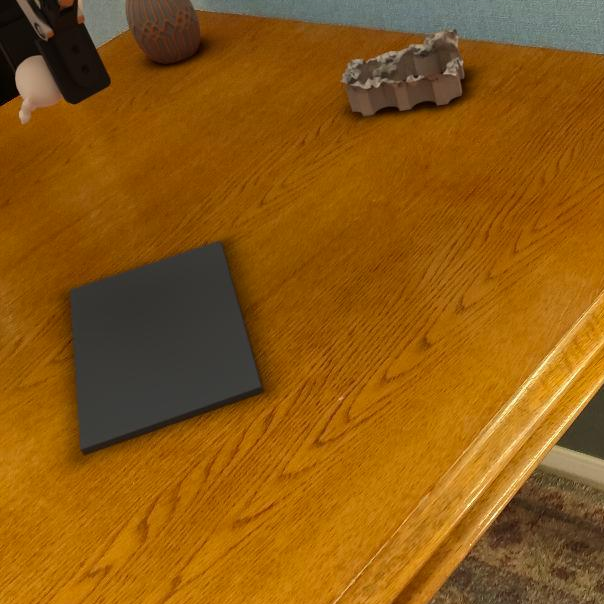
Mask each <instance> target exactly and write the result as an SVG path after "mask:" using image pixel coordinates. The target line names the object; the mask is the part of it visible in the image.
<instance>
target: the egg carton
mask: <svg viewBox="0 0 604 604" xmlns="http://www.w3.org/2000/svg"><path fill="white" fill-rule="evenodd" d="M458 44H459V33H458V30H457V29H456V28H454V29H453V28H452V29H451V30H447V29H444V30H441V31H440V32H433V33H432V34H429V35H426V36H425V38H424V41H423V43H418V44H417V43H411V44H409V45H408V47H407V48H404V49H401V50H399V51H394V50H393V51H392V50H390V51H388V52H387V51H386V52H384V53H382V54H380V55H377V56H375V58H373V57H371V58H369V59H368V60H367V61H365V59H364V57H362V58H355V59H353V58H351V60H350V62H348V63H347V68H346V69H345V70H344V73H342V79H341V80H340V82H341V83H342V84H344V85H345V87H344V88H345V92H346V95H347V98H348V102H349V105H350V108H351V111H352V113H353V112H355V113H356V112H357V113H361V114H362V116H363V117H368V116H374V115H375V114H376V112H377V111H380V110H381V109H383V108H388V107H395V108H396V109H397V108H398V110H399V111H401V112H402V111H408V110H412V109H413V107H414V106H416V105H417V104H420V103H423V102H433V103H435V104H436V106H445V105H448V104H449V102H450V101H451V100H453V99H455V98H458V97H461V96H462V94H463V88H462V83H461V80H464V79H465V71H464V59H463V57H462V55H461V51H459V48H458V46H459V45H458ZM416 76H417V77H416Z"/></svg>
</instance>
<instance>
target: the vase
mask: <svg viewBox="0 0 604 604" xmlns="http://www.w3.org/2000/svg"><path fill="white" fill-rule="evenodd" d="M124 7H125V8H124V9H125V16H126V17H125V19H126V22H127V25H128V28H129V31H130V34H131V35H132V37H133V39H134V41H135V42H136V44H137V46H138V47H139V48H140V50H141V51H142V52H143V53H144V54H145V55H146V56H147V57H148V58H150V59H151V60H153V61H154V62H156V63H159V64H162V65H163V64H164V65H166V64H173V63H178V62H182V61H185V60H187V59H188V58H190V57H191V56H192V57H193V55H194V54H195V53H196V52H197V51H198V49H199V47H200V43H201V26H200V21H199V17H198V14H197V12H196V9H195V7H194V5H193V3H192V2H191V0H125V5H124Z"/></svg>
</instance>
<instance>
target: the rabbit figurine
mask: <svg viewBox="0 0 604 604" xmlns="http://www.w3.org/2000/svg"><path fill="white" fill-rule="evenodd" d="M78 6H79V7H80V9H81V11H82V13H83V14H84V5H83V0H78ZM14 79H15V85H16V89H17V91H18V93H19V95H20V97H21V98H22V99H23V101H22V104H21V107H20V110H19V111H18V118H19V120H20V121H21V124H22V125H25V124H27V123H28V122H30V119H31V118H32V112H33V111H35V110H37V108H46V107H47V108H48V107H51V106H54V105H56V104H58V103H59V102H60V101H62V99H64V98H63V96H62V94H61V92H60V90H59V88H58V86H57V84H56V82H55V80H54V78H53V76H52V74H51V72H50V71H49V69H48V67H47V65H46V63H45V61H44V59H43V57H42V56H32V57H29V58H27V59H26V60H24V61H23V62H22V63H21V64H20V65H19V66H18V68H17V71H16V75H15V77H14Z"/></svg>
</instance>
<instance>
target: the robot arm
mask: <svg viewBox="0 0 604 604" xmlns="http://www.w3.org/2000/svg"><path fill="white" fill-rule="evenodd" d="M85 22H86V18H85V15H84V12H83V13H82V11H81V9H80V7H79V6H78V0H39V4H38V3H37V1H36V0H0V50H1V52H2V53H3V55H4V57H5V59H6V61H7V63H8V64H9V66H10V68H11V70H12V72H13V74H14V75H15V76H16V71H17V68H18V66H19V65H20V64H21V63H22V62H23V61H24V60H26V59H27V58H29V57H32V56H42V57H43V59H44V61H45V63H46V65H47V67H48V69H49V71H50V72H51V74H52V76H53V78H54V80H55V82H56V84H57V86H58V88H59V90H60V92H61V94H62V96H63V98H62V99H64V101H65V102H66V103H68V104H70V105H77V104H80V103H82V102H83V101H85V100H87V99H89V98H90V97H92V96H94V95H96V94H98V93H100V92H102V91H103V90H105V89H107V88H108V87H110V85H111V84H112V80H111V77H110V75H109V73H108V71H107V68H106V66H105V64H104V62H103V60H102V58H101V56H100V54H99V51H98V49H97V47H96V45H95V43H94V41H93V39H92V37H91V34H90V32H89V30H88V29H87V26H86V24H85Z"/></svg>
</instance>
